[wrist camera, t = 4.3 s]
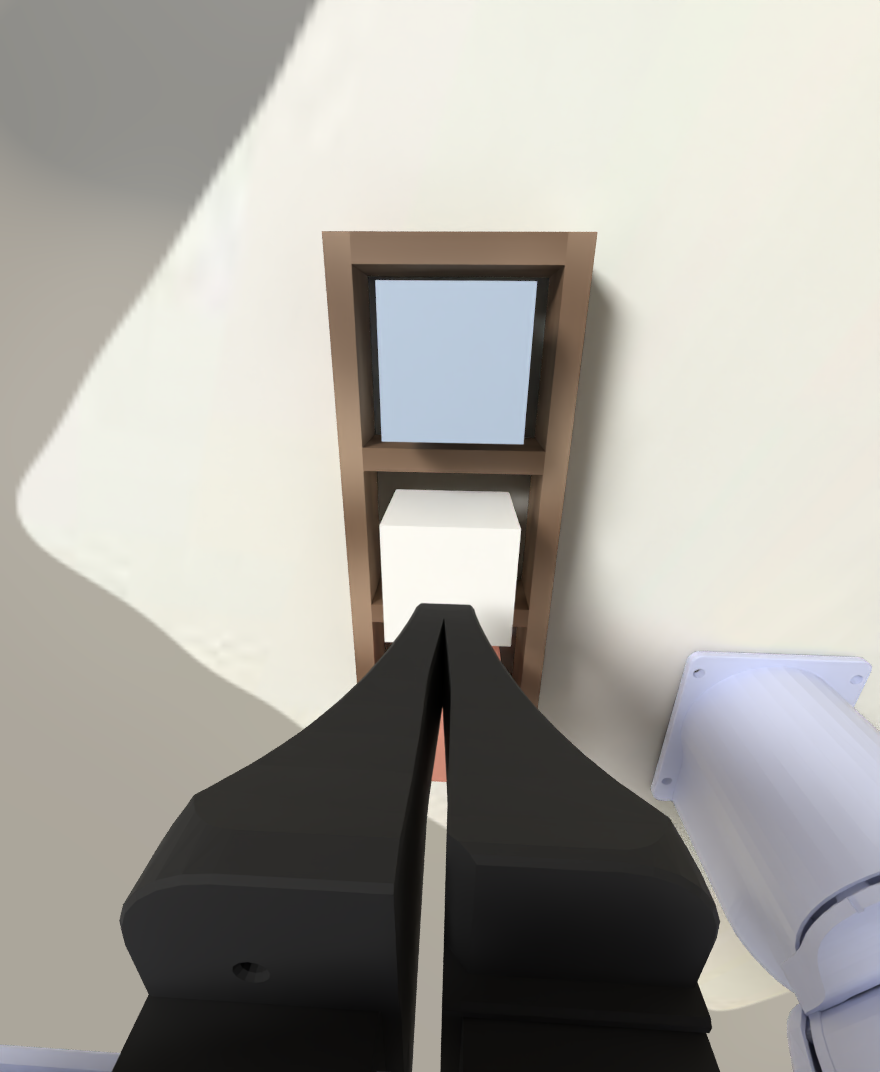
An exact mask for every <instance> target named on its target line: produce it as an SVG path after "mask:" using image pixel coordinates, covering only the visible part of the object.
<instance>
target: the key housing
mask: <svg viewBox="0 0 880 1072" xmlns="http://www.w3.org/2000/svg"><path fill="white" fill-rule="evenodd" d="M322 239H323V252H324V265H325V278H326V291H327V303H328V316H329V329H330V342H331V355H332V367H333V380H334V393H335V406H336V419H337V431H338V444H339V457H340V470H341V483H342V496H343V508H344V521H345V534H346V547H347V560H348V572H349V585H350V598H351V611H352V624H353V636H354V649H355V662H356V675H357V683H358V682H359V681H360V680H361V679H362V678H363V677H364V676H365V675H366V674H367V673H368V672H369V670H370V669H371V668H372V667H373V666H374V665H375V664H376V663H377V661H378V660H379V659H380V658H381V657H382V656H383V655H384V653H385V639H384V614H383V592H382V573H381V551H380V529H379V507H378V485H377V471H389V472H434V473H478V474H523V475H531V480H530V491H529V502H528V512H527V523H526V534H525V545H524V555H523V566H522V577H521V579H517V580H516V591H515V603H514V614H513V625H512V627H517V630H516V641H515V652H514V662H513V673H512V678H513V679H514V681H515V682H516V683H517V685H518V686H519V687H520V688H521V690H522V691H523V692H524V693H525V695H526V696H527V697H528V698H529V700H530V701H531V702H532V703H533V704H534V705H535V706H536V708H537V709H538V701H539V693H540V685H541V677H542V669H543V661H544V653H545V645H546V637H547V629H548V621H549V613H550V606H551V598H552V590H553V582H554V574H555V566H556V558H557V550H558V542H559V534H560V526H561V518H562V510H563V502H564V494H565V486H566V478H567V470H568V462H569V454H570V446H571V439H572V431H573V423H574V415H575V407H576V399H577V391H578V383H579V375H580V367H581V359H582V351H583V343H584V335H585V327H586V319H587V311H588V303H589V295H590V287H591V279H592V271H593V264H594V256H595V248H596V240H597V232H375V231H322ZM368 276H370V277H538V278H549V287H548V298H547V309H546V320H545V330H544V341H543V352H542V362H541V373H540V384H539V395H538V405H537V416H536V427H535V437H534V438H524V444H481V443H431V442H382V436H381V435H375V419H374V397H373V375H372V353H371V331H370V309H369V287H368Z"/></svg>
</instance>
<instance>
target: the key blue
mask: <svg viewBox="0 0 880 1072" xmlns="http://www.w3.org/2000/svg"><path fill="white" fill-rule="evenodd" d="M375 286H376V311H377V336H378V361H379V386H380V411H381V436H382V442H431V443H481V444H524V432H525V420H526V408H527V396H528V384H529V373H530V361H531V349H532V337H533V325H534V313H535V301H536V289H537V281H433V280H375Z"/></svg>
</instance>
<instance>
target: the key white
mask: <svg viewBox="0 0 880 1072" xmlns="http://www.w3.org/2000/svg"><path fill="white" fill-rule="evenodd" d="M379 526H380V548H381V570H382V592H383V614H384V636H385V642H394V640H395V639H396V638H397V636H398V635H399V634H400V632H401V631H402V629H403V628H404V627H405V625H406V624H407V622H408V621H409V619H410V617H411V616H412V614H413V612H414V610H415V608H416V607H417V606H418V605H419V604H420V603H434V604H465V605H471V606H472V607H473V608H474V610H475V613H476V616H477V618H478V621H479V623H480V625H481V627H482V629H483V631H484V633H485V635H486V637H487V639H488V641H489V642H490V644H491V646H509V647H511V637H512V625H513V614H514V603H515V591H516V580H517V569H518V558H519V546H520V535H521V528H520V525H519V522H518V519H517V515H516V512H515V509H514V506H513V503H512V500H511V497H510V494H509V492H485V491H444V490H402V489H396V491H395V493H394V495H393V497H392V500H391V502H390V504H389V506H388V508H387V510H386V512H385V515H384V517H383V519H382V521H381V523H380V525H379Z"/></svg>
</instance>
